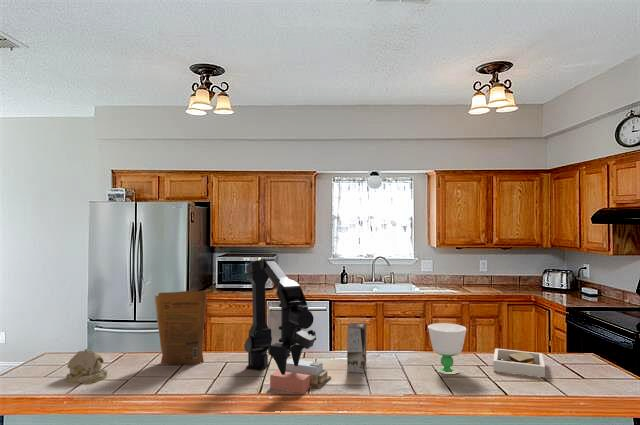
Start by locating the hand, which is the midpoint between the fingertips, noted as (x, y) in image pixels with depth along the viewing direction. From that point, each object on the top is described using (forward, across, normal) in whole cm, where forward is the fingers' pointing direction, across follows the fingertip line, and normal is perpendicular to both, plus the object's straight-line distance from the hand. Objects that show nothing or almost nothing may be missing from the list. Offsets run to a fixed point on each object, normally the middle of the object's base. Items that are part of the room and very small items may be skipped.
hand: (289, 370), depth 148 cm
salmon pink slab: (+6, 0, 0) cm, 6 cm away
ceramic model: (+6, -19, +70) cm, 73 cm away
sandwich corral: (+6, +52, -69) cm, 87 cm away
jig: (+6, +8, -1) cm, 10 cm away
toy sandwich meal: (+6, +53, -68) cm, 86 cm away
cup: (+6, +38, -45) cm, 59 cm away
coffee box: (+6, +27, -14) cm, 31 cm away
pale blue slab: (+5, +8, -1) cm, 10 cm away
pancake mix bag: (+6, +6, +50) cm, 51 cm away
